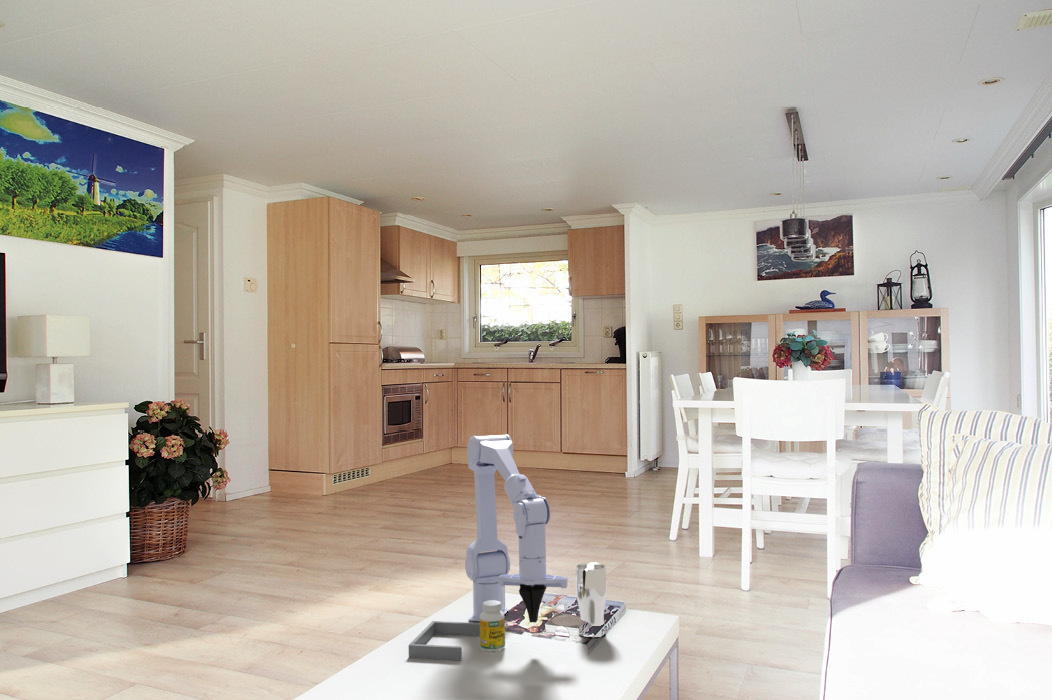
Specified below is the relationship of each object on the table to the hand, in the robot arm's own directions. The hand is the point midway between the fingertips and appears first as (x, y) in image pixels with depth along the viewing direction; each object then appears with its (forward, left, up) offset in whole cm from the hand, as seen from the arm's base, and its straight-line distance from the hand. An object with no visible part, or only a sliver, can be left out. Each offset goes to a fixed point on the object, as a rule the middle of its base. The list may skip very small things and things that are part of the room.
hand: (533, 620), depth 157 cm
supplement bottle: (0, -9, -6) cm, 11 cm away
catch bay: (0, -19, -6) cm, 20 cm away
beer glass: (-12, +11, -6) cm, 17 cm away
